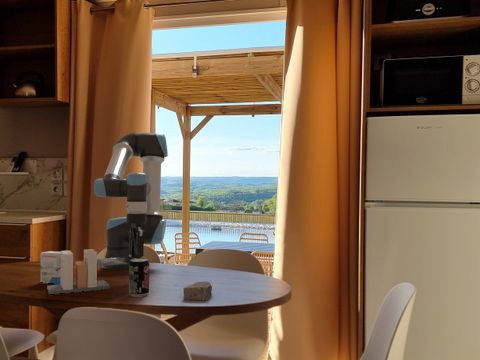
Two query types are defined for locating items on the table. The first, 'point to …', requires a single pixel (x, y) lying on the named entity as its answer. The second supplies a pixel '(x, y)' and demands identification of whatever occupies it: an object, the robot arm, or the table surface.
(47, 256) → the ink box
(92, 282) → the jig
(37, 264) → the table surface
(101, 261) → the shaft
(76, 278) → the spacer
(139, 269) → the beverage can
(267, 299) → the table surface
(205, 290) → the stone
